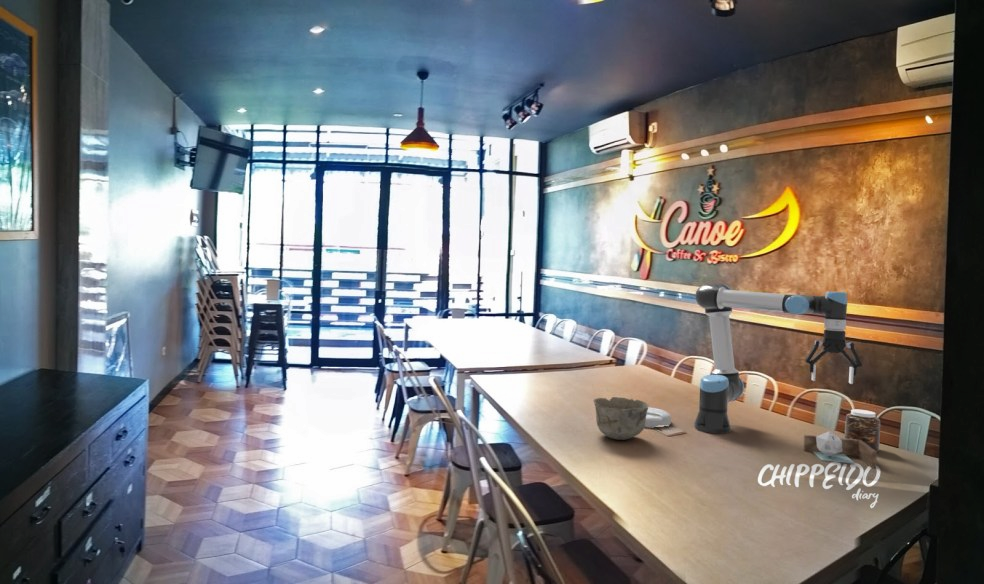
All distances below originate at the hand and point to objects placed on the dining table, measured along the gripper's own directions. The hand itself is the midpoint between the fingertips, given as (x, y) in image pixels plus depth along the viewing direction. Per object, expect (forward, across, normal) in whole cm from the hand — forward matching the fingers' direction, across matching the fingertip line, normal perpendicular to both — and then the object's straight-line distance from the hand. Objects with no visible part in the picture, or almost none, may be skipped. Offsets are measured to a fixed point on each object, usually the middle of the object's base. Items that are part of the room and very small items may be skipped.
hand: (831, 382), depth 238 cm
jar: (+26, +12, +2) cm, 29 cm away
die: (+26, -4, -18) cm, 32 cm away
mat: (+26, -3, -17) cm, 31 cm away
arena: (+26, -1, -17) cm, 32 cm away
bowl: (+27, -82, -22) cm, 89 cm away
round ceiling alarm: (+27, -72, +9) cm, 77 cm away
